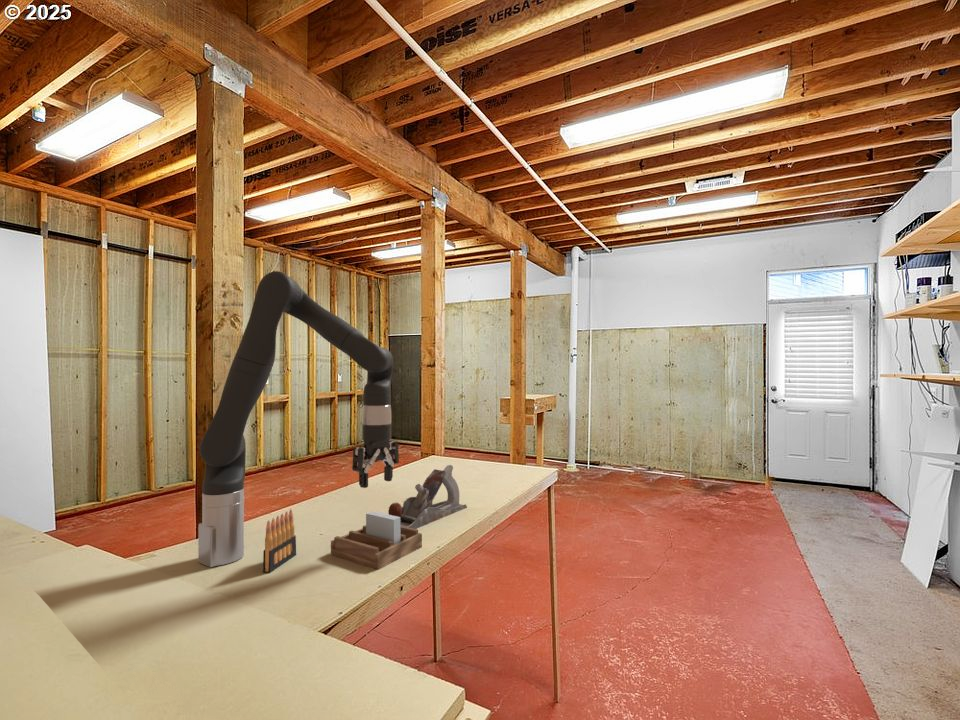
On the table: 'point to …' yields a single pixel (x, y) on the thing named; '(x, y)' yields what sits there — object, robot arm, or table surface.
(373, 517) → the tile
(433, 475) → the hand plane
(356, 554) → the rack
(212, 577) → the table surface
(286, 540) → the ammunition clip
